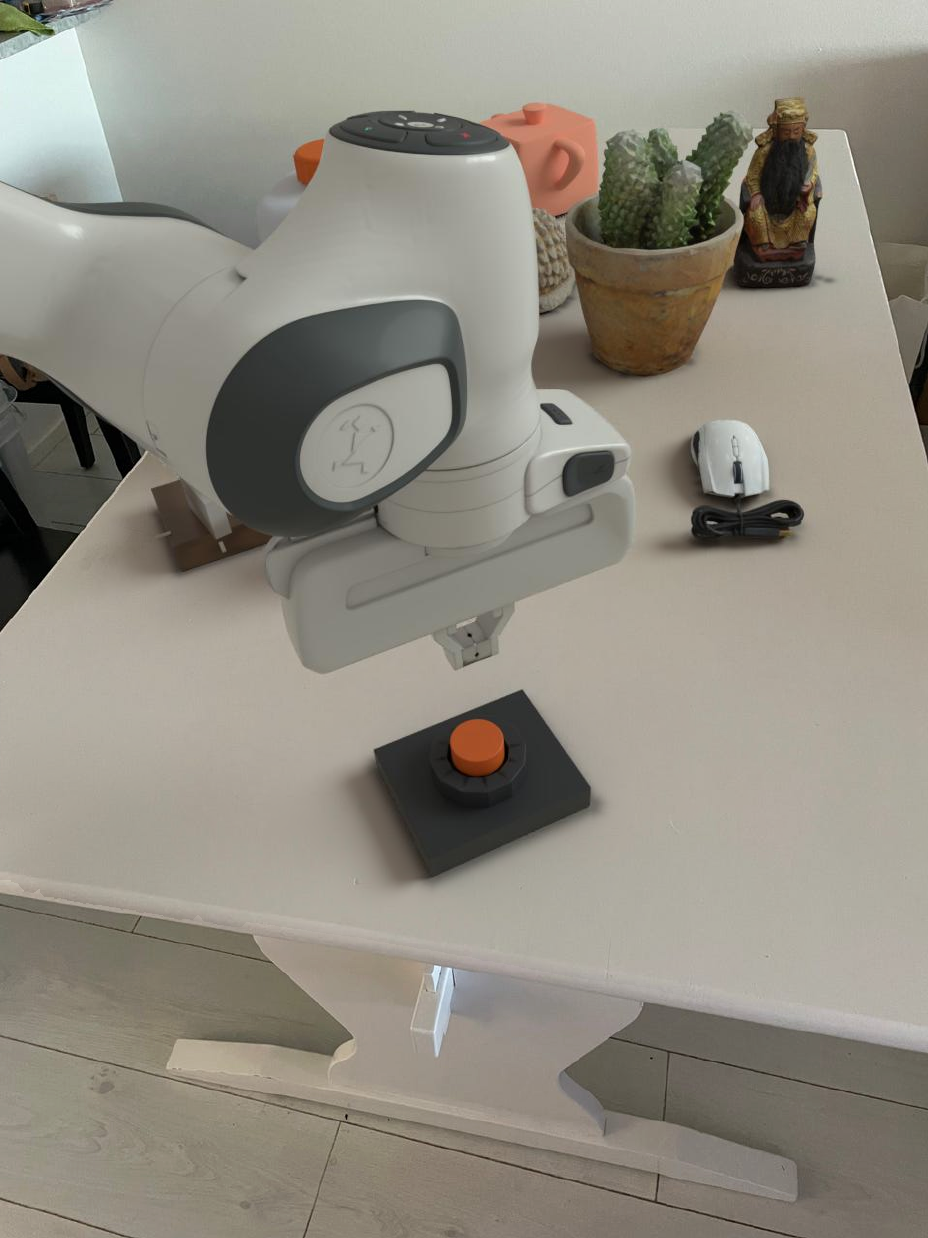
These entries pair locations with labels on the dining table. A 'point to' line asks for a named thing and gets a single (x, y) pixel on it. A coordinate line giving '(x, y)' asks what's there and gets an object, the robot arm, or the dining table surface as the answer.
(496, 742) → the button
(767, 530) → the computer mouse
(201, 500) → the grey rectangular block
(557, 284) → the sculpture
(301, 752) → the dining table surface
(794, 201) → the statue
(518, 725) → the button box
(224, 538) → the block
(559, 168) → the teapot
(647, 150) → the potted plant
